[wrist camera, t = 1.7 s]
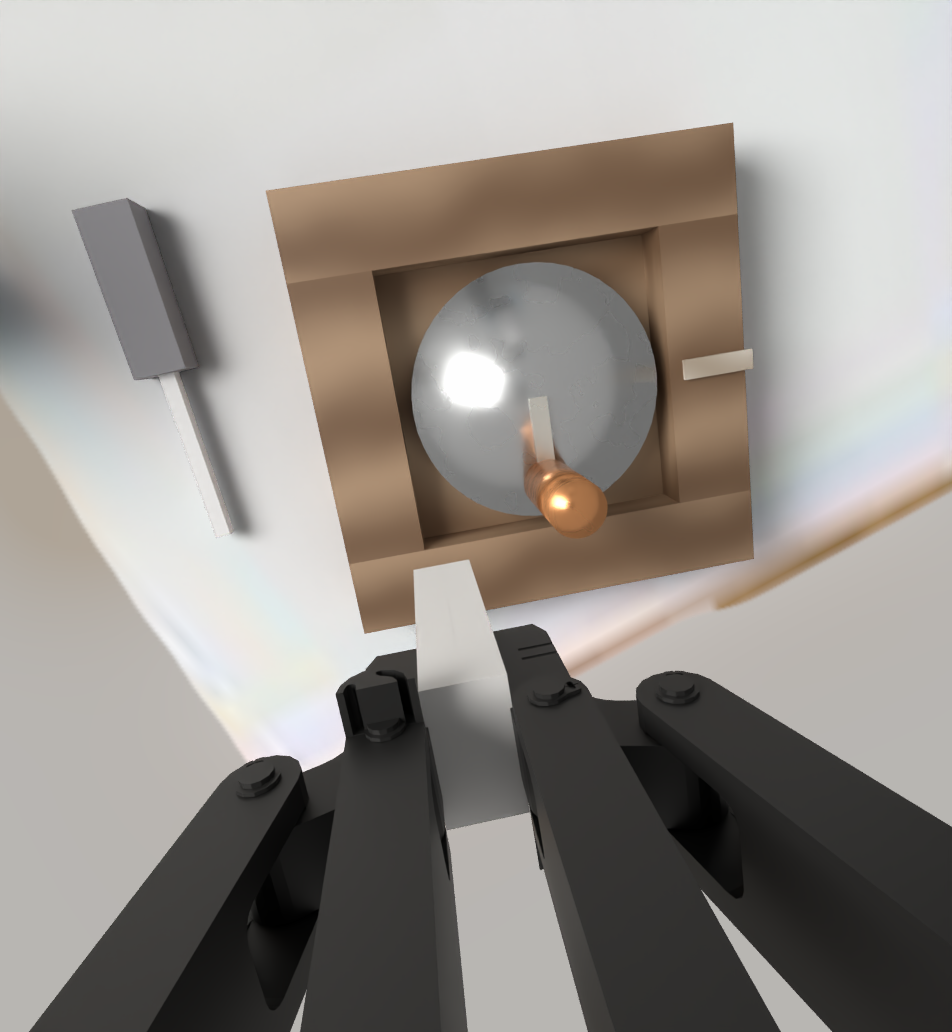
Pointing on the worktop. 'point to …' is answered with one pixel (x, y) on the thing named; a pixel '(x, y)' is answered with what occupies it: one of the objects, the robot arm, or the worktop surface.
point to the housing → (482, 249)
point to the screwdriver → (149, 324)
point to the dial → (535, 393)
